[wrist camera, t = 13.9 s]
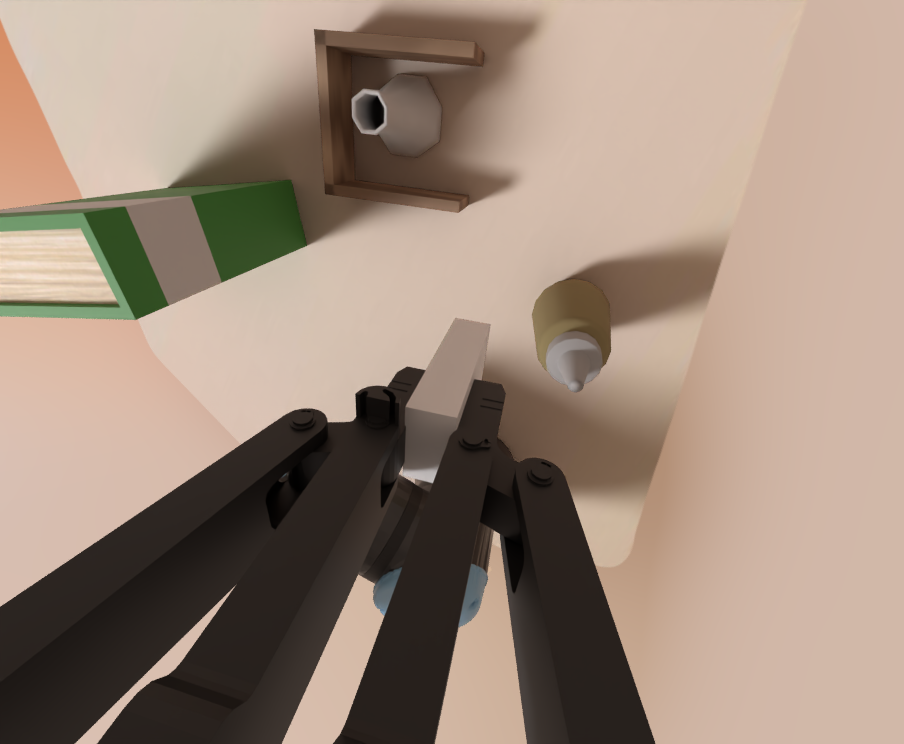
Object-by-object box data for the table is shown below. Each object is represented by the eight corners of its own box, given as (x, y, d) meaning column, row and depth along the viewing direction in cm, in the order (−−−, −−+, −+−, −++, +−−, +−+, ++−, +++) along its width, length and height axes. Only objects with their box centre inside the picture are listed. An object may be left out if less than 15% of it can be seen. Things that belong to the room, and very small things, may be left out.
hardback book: (190, 248, 54) (-32, 315, 33) (166, 188, 50) (-98, 222, 30) (307, 245, 50) (135, 319, 29) (291, 179, 46) (83, 213, 26)
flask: (434, 62, 38) (398, 41, 29) (450, 149, 41) (422, 152, 32) (365, 84, 40) (314, 70, 31) (386, 165, 43) (344, 172, 35)
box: (468, 205, 43) (458, 212, 39) (346, 188, 45) (325, 194, 41) (484, 53, 36) (474, 41, 32) (340, 41, 38) (314, 29, 34)
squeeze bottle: (611, 269, 43) (641, 340, 28) (601, 337, 47) (622, 432, 32) (535, 268, 45) (524, 335, 30) (532, 334, 49) (520, 422, 34)
